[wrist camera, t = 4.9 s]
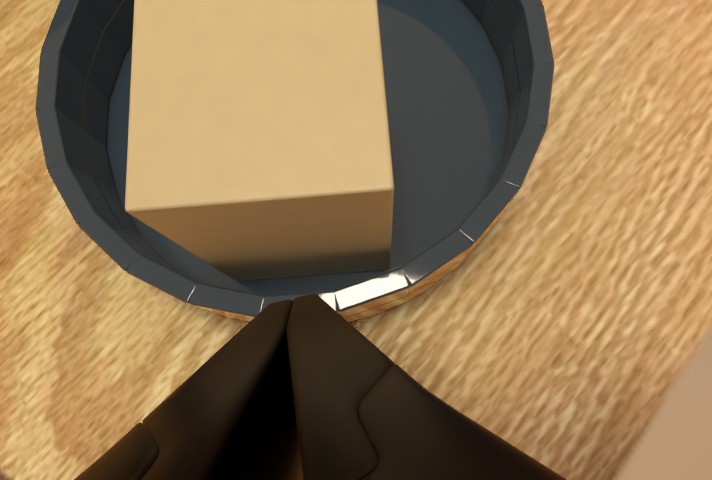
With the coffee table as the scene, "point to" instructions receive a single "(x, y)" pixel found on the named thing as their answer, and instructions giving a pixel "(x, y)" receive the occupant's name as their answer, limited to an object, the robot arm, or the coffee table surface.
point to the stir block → (262, 134)
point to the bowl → (406, 130)
